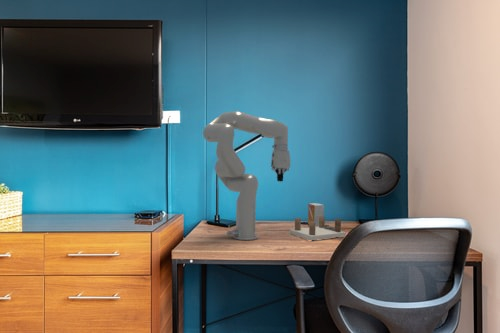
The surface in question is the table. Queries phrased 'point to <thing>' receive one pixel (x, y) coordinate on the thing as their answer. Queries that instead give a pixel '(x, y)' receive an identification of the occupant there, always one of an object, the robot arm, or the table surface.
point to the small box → (315, 212)
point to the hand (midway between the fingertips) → (280, 181)
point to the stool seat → (314, 230)
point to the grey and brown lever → (337, 226)
